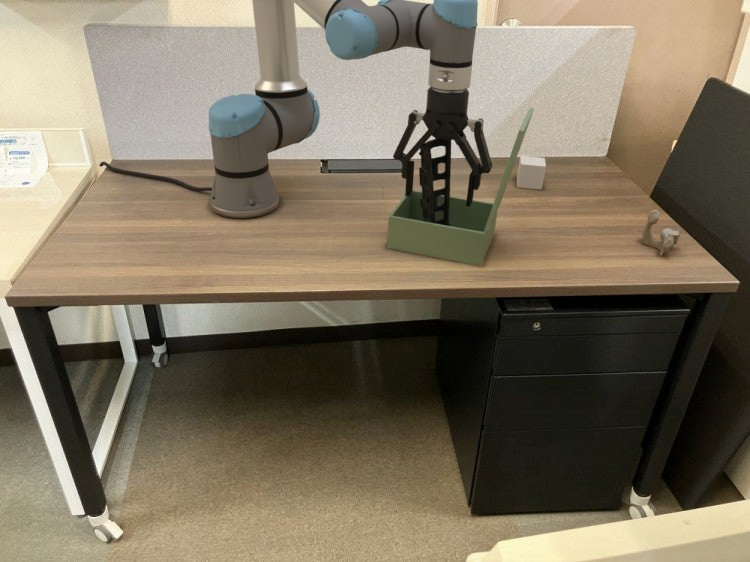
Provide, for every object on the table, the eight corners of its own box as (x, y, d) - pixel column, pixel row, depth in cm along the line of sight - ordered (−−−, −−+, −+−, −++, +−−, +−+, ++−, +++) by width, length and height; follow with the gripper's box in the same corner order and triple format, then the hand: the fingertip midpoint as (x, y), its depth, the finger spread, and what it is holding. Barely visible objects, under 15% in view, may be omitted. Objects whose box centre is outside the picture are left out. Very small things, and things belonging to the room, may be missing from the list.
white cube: (516, 178, 155) (520, 155, 151) (540, 180, 154) (544, 157, 151) (517, 187, 150) (520, 164, 146) (541, 189, 149) (546, 166, 146)
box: (387, 248, 122) (388, 216, 118) (407, 218, 133) (409, 189, 129) (481, 266, 116) (485, 233, 113) (494, 234, 128) (498, 204, 124)
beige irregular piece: (696, 251, 120) (683, 213, 116) (667, 268, 121) (653, 230, 116) (670, 234, 128) (657, 197, 123) (643, 250, 129) (629, 213, 124)
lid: (519, 129, 101) (523, 131, 101) (530, 107, 112) (534, 108, 112) (484, 231, 112) (488, 232, 112) (497, 201, 124) (500, 202, 124)
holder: (455, 251, 119) (454, 154, 109) (417, 250, 121) (413, 154, 111) (459, 227, 128) (459, 135, 118) (424, 226, 130) (421, 135, 120)
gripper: (378, 85, 109) (375, 196, 120) (512, 101, 102) (495, 216, 114) (391, 76, 115) (387, 182, 126) (518, 90, 108) (501, 201, 120)
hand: (438, 198), depth 120 cm, fingers open, 12 cm apart
